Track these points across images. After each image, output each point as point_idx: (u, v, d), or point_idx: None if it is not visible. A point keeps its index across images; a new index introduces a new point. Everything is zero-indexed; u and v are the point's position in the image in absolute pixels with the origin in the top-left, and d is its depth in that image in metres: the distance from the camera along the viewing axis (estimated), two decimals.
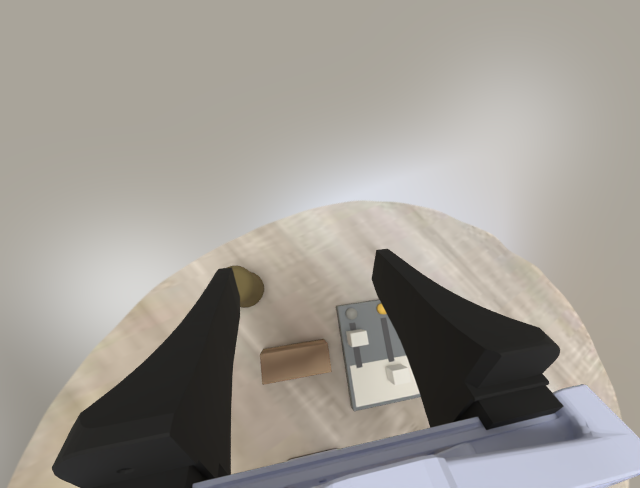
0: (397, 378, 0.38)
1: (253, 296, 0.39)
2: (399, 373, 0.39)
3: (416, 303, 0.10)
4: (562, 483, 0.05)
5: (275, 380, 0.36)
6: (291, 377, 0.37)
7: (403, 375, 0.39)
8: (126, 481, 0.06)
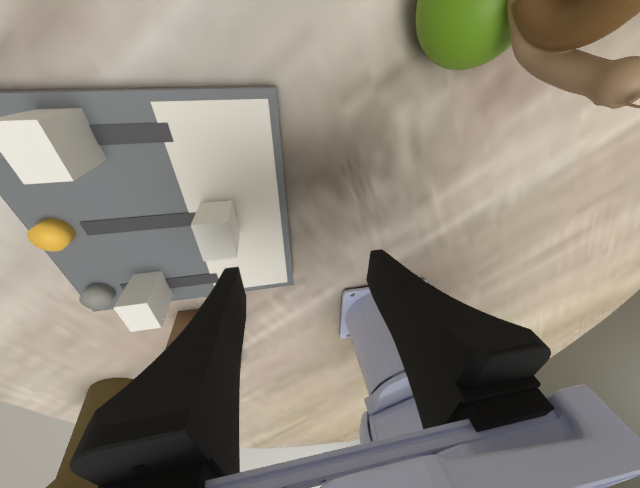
0: (220, 251, 0.15)
1: None
2: (209, 247, 0.15)
3: (409, 304, 0.10)
4: (562, 483, 0.05)
5: None
6: None
7: (212, 238, 0.15)
8: (140, 478, 0.06)
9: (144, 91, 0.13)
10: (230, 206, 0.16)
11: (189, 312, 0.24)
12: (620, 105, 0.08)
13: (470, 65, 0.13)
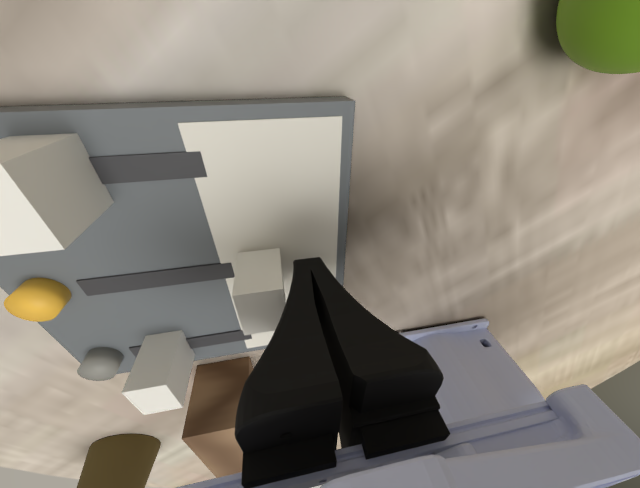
0: (268, 323, 0.11)
1: None
2: (253, 319, 0.11)
3: (327, 317, 0.09)
4: (562, 483, 0.05)
5: None
6: None
7: (259, 308, 0.11)
8: (278, 447, 0.06)
9: (169, 108, 0.09)
10: (279, 259, 0.12)
11: (211, 366, 0.20)
12: None
13: None
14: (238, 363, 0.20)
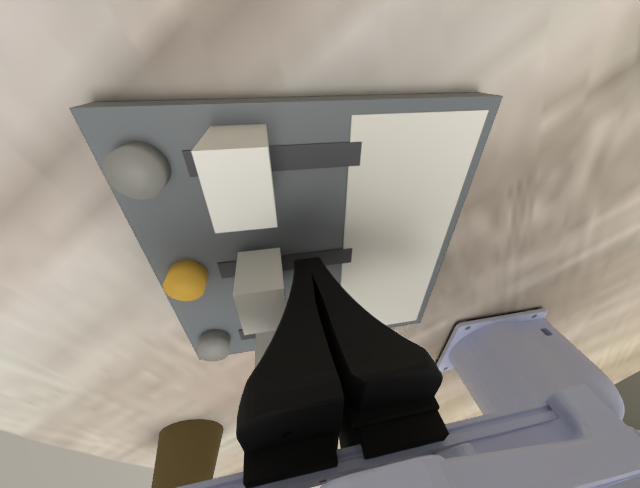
0: (268, 323, 0.11)
1: None
2: (254, 319, 0.11)
3: (326, 317, 0.09)
4: (562, 483, 0.05)
5: None
6: None
7: (259, 308, 0.11)
8: (280, 446, 0.06)
9: (348, 101, 0.10)
10: (280, 258, 0.12)
11: None
12: None
13: None
14: None
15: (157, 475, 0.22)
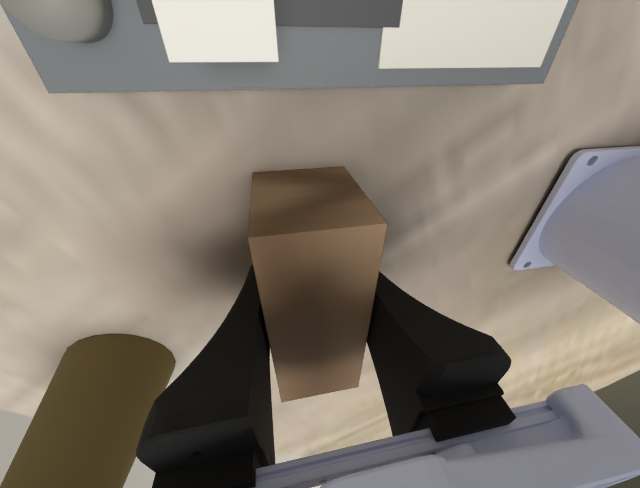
0: None
1: (99, 434, 0.12)
2: None
3: (378, 309, 0.10)
4: (562, 483, 0.05)
5: (356, 369, 0.12)
6: (361, 341, 0.11)
7: None
8: (195, 465, 0.06)
9: None
10: None
11: (278, 174, 0.11)
12: None
13: None
14: (328, 172, 0.11)
15: (35, 416, 0.12)
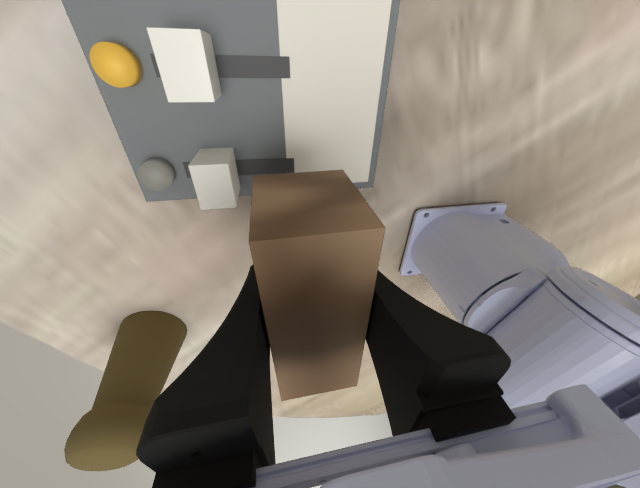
0: (191, 87, 0.11)
1: (149, 362, 0.22)
2: (175, 76, 0.11)
3: (378, 309, 0.10)
4: (562, 483, 0.05)
5: (355, 369, 0.12)
6: (359, 342, 0.11)
7: (178, 58, 0.11)
8: (195, 465, 0.06)
9: None
10: (207, 33, 0.12)
11: (279, 177, 0.11)
12: None
13: None
14: (328, 175, 0.11)
15: (113, 353, 0.22)
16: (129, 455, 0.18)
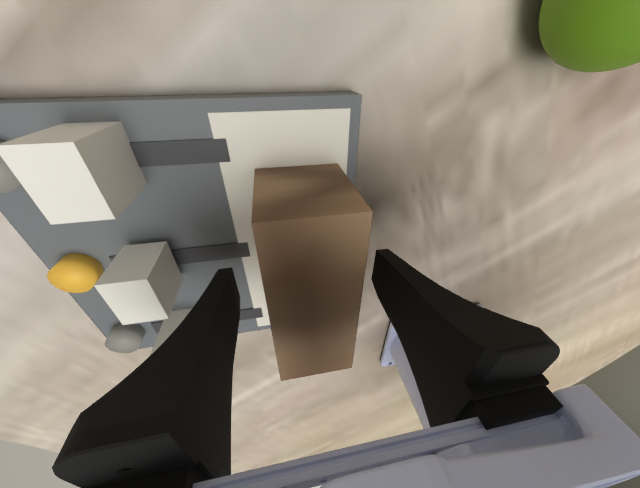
0: (144, 313, 0.12)
1: None
2: (126, 309, 0.11)
3: (416, 303, 0.10)
4: (562, 483, 0.05)
5: (350, 349, 0.13)
6: (353, 322, 0.12)
7: (128, 298, 0.11)
8: (126, 481, 0.06)
9: (201, 100, 0.10)
10: (160, 251, 0.12)
11: (278, 170, 0.12)
12: None
13: (618, 66, 0.10)
14: (323, 168, 0.12)
15: None
16: None
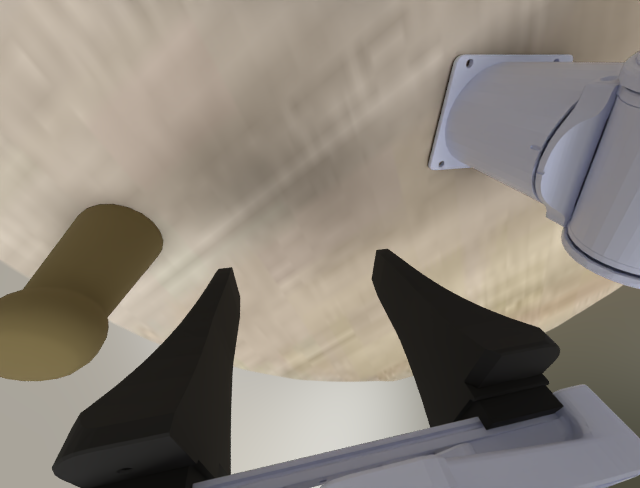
0: None
1: (103, 253, 0.16)
2: None
3: (416, 303, 0.10)
4: (562, 483, 0.05)
5: None
6: None
7: None
8: (126, 481, 0.06)
9: None
10: None
11: None
12: None
13: None
14: None
15: (57, 244, 0.17)
16: (62, 353, 0.12)
